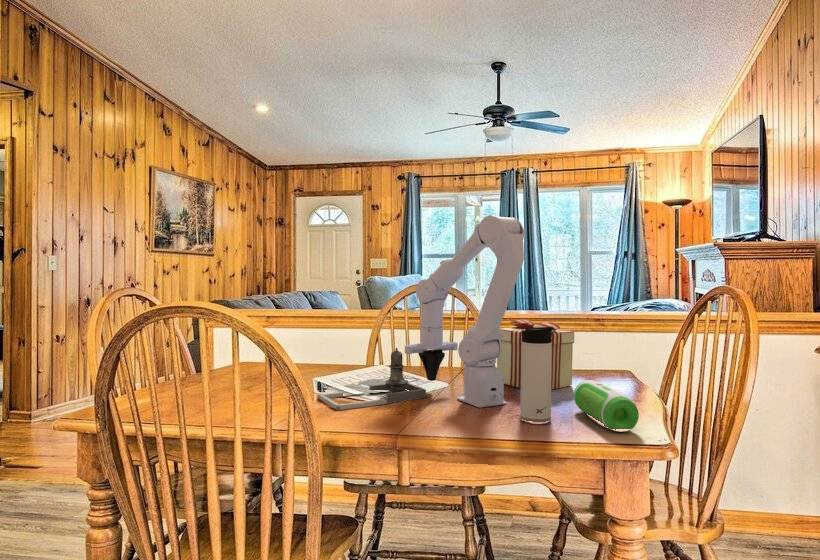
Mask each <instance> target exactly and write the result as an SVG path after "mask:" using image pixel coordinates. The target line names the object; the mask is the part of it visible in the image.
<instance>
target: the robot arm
mask: <svg viewBox="0 0 820 560" xmlns="http://www.w3.org/2000/svg"><path fill="white" fill-rule="evenodd" d="M473 229H474V230H473V233H472V234H471V235H470V237H469V238H468V239H467V240H466V242H465V243H464V244H463V245H462V247H461V248H459V250H458V251H457V252H456V254H455V255H454V257H453V258H446V259H443V260H441V261H440V262H439V264H440V265H439V266H438V267H437V268H436V270H435V271H434V272H433V273H430V274H429V277H428V278H426V279H425V278H424V279H420V281H419V282H418V284H417V285H416V288H415V294H416V298H417V300H418V301H419V302H420V343H414V344H407V345H404V354H406V355H412V354H418V357H419V358H420V360H421V363H422V365H423V367H424V371H425V375H426V380H427V381H430V382H433V381H434V382H435V381H436V379H437V377H438V376H437V375H438V372H439V369H440V366H441V364H442V362H443V360H444V359H445V354H446V353H445V351H457V352H458V356H459V358H460V360H461V361H462V362H463V363H462V365H464V378H463V379H464V381H463V382H464V383H463V384H464V386H463V387H464V394H463V395H461V396H457V397H456V399H457V400H458V401H461V402H464V403H466V404H469V405H471V406H474V407H476V408H487V407H492V406H493V407H494V406H499V405H500V406H501V405H506V404H507V401H505V399H504V398H505V397H504V392H505V391H504V390H505V388H504V387H505V384H504V377H503V374H502V372H501V371H500V370H498V369H497V365H496V364H497V357H498V356H499V355H500V352H501V339H502V337H503V335H502V333H501V332H500V331H499V329H500V327H501V325H502V322H503V319H504V316H505V313H506V311H507V309H508V305H509V304H510V299H511V297H512V294H513V292H514V289H515V286H516V283H517V280H518V278H519V274H520V272H521V270H522V267H523V264H524V261H525V250H524V238H525V235H526V230H525V228H524V227H523V225H522V223H521V221H520V220H519V219H518V218H516V217H510V216H509V217H507V216H506V217H504V216H497V215H493V214H491V215H485V216H484V217H483V218H482V220H481V221H480V222H479V223H477V224H476V226H474V228H473ZM485 248H488V249H489V250H490V251H491V252H492V253H493V255H494V256H495V257H496V259H497V263H496V266H495V269H494V271H493V274H492V277H491V280H490V283H489V284H488V285H489V286H488V288H487V290H486V294H485V297H484V299H483V302H482V305H481V308H480V311H479V314H478V317H477V320H476V322H475V324H474V325H472V326H471V327H470V328H469V329H468V330H467V331H466V334H465V337H464V338H463V339H462V340H460V342H459V344H458V342H455V341H444V307H445V303H446V300H447V298H448V296H449V290H451V288H452V287H453V286H454V285H455V284H456V283H457V282H458V281H459V280H460V279H461V278H462V277H463V276H464V268H465V267H466V266H467V265H468V264H469V263H470V262H471V261H472V260H473V259H475V258H476V257H477V256H478V255H479V254H480V253H481V252H483V250H485Z"/></svg>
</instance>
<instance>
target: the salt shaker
mask: <svg viewBox="0 0 820 560" xmlns="http://www.w3.org/2000/svg"><path fill="white" fill-rule="evenodd" d="M388 366H389V368H390V374H389V375H390V376H389V378H388V379H386V380H385V381H384V384H386V387H387V389H388V390H389V391H391V392H392V393H395V392H404V391H405V389H406V387H407V383H409V381H408V380H407V379H406V378H404V371H403V370H404V367H405V365H403V353H402V352H401V351H399V348H398V347H395V350H394V351H392V352H391V354H390V365H388Z"/></svg>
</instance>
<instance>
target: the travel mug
mask: <svg viewBox="0 0 820 560" xmlns="http://www.w3.org/2000/svg"><path fill="white" fill-rule="evenodd" d="M552 330H554V327H553V326H550V327H538V328H528V329H525V330H522V341H521V343H522V345H521V388H520V406H519V407H520V408H519V409H520V411H519V412H520V414H519V415H520V417H519V418H521V419H523V420H526V421H533V422H546V421H550V420H551V419H552V415H551V414H552V389H551V371H552V346H551V345H552V339H551V338H552ZM521 419H520V420H521ZM551 421H552V420H551ZM551 421H550V422H551Z"/></svg>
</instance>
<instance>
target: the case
mask: <svg viewBox="0 0 820 560" xmlns="http://www.w3.org/2000/svg"><path fill="white" fill-rule="evenodd" d="M368 389H369V390H388V389H387V387H386V383H382V384H380V383H379V384H373V385H372V384H370V385H368ZM406 389H407V390H409V391H405V390H404V391H402V392H395V393H390V392H386V394H385V402H386V401H387V402H386V403H388V404H389V403H397V402H404V401H412V400H418V399H419V400H420V399H426V398H427V389H426V388H423V387H420V386H419V385H415V384H413V383H410V382H408V383H407V387H406ZM369 390H368V391H369Z"/></svg>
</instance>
